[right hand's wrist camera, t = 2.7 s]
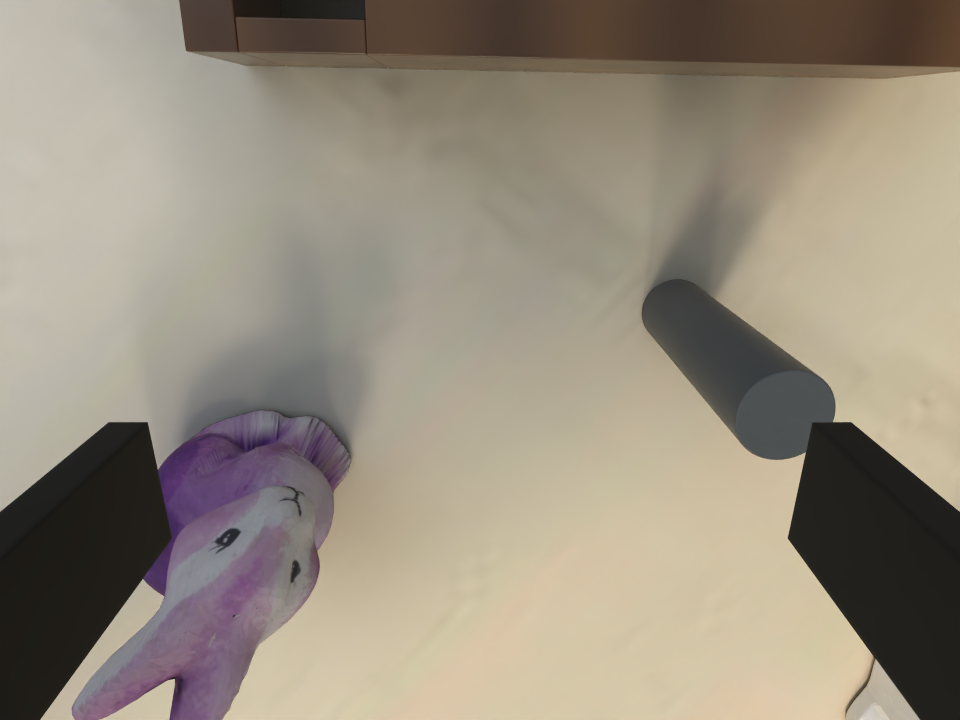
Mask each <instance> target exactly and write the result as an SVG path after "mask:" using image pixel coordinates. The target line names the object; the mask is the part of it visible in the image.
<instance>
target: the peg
mask: <svg viewBox="0 0 960 720" xmlns="http://www.w3.org/2000/svg"><path fill="white" fill-rule="evenodd" d="M642 319H643V323H644V326H645V328H646V329H647V331H648V332H649V333H650V334H651V336H652V337H653V338H654V339H655V340H656V342H657V343H658V344H659V345H660V346H661V348H662V349H663V350H664V351H665V352H666V354H667V355H668V356H669V357H670V358H671V360H672V361H673V362H674V363H675V364H676V366H677V367H678V368H679V369H680V370H681V372H682V373H683V374H684V375H685V376H686V378H687V379H688V380H689V381H690V382H691V384H692V385H693V386H694V387H695V388H696V390H697V391H698V392H699V393H700V395H701V396H702V397H703V398H704V399H705V401H706V402H707V403H708V404H709V405H710V407H711V408H712V409H713V410H714V411H715V413H716V414H717V415H718V416H719V417H720V419H721V420H722V421H723V422H724V423H725V425H726V426H727V427H728V428H729V429H730V431H731V432H732V433H733V434H734V435H735V437H736V438H737V439H738V440H739V441H740V443H741V444H742V445H743V446H744V447H745V448H746V449H747V450H748V451H749V452H751V453H752V454H754V455H756V456H759V457H762V458H766V459H773V460H781V459H788V458H792V457H796V456H798V455H801V454H803V453H805V452H806V450H807V446H808V441H809V436H810V431H811V427H812V422H833V420H834V416H835V399H834V395H833V392H832V390H831V388H830V387H829V385H828V384H827V383H826V382H825V381H824V380H823V379H822V378H821V377H819V376H818V375H817V374H815V373H814V372H812V371H811V370H810V369H808V368H807V367H806V366H804V365H803V364H802V363H800V362H799V361H798V360H796V359H795V358H794V357H792V356H791V355H789V354H788V353H787V352H785V351H784V350H783V349H781V348H780V347H779V346H777V345H776V344H775V343H773V342H772V341H771V340H769V339H768V338H766V337H765V336H764V335H762V334H761V333H760V332H758V331H757V330H756V329H754V328H753V327H752V326H750V325H749V324H748V323H746V322H745V321H743V320H742V319H741V318H739V317H738V316H737V315H735V314H734V313H733V312H731V311H730V310H729V309H727V308H726V307H725V306H723V305H722V304H720V303H719V302H718V301H716V300H715V299H714V298H712V297H711V296H710V295H708V294H707V293H706V292H704V291H703V290H702V289H700V288H699V287H697V286H696V285H695V284H693V283H691V282H689V281H686V280H670V281H666V282H664V283H662V284H660V285H658V286H657V287H656V288H654V289H653V290H652V291H651V292H650V293H649V295H648V296H647V298H646V300H645V302H644V305H643V309H642Z"/></svg>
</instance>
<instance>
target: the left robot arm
mask: <svg viewBox="0 0 960 720" xmlns="http://www.w3.org/2000/svg"><path fill="white" fill-rule="evenodd" d="M846 720H920V719H919V718H918V716H917V715H916V714H915V712H914V711H913V710H912V708H911V707H910V705H909V704H908V703H907V701H906V700H905V699H904V697H903V696H902V694H901V693H900V692H899V690H898V689H897V688H896V686H895V685H894V683H893V682H892V681H891V679H890V678H889V677H888V675H887V674H886V672H885V671H884V670H883V668H882V667H881V666H880V664H879V663H878V661H877V660H876V659H875V662H874V666H873V669H872V673H871V677H870V679H869V682H868V684H867V686H866V687H865V688H864V690H863V691H862V692H861V693H860V694H859V696H858V697H857V698H856V699H855V700H854V702H853V703H852V705H851V706H850V707H849V709H848V711H847V713H846Z"/></svg>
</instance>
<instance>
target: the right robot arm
mask: <svg viewBox="0 0 960 720" xmlns="http://www.w3.org/2000/svg"><path fill="white" fill-rule="evenodd" d="M171 539H172V535H171V531H170V526H169V521H168V516H167V512H166V507H165V502H164V497H163V493H162V488H161V483H160V479H159V474H158V469H157V464H156V460H155V455H154V450H153V445H152V441H151V436H150V431H149V427H148V422H109V423H107V424H106V425H105V426H104V427H103V428H101V429H100V430H99V431H98V432H97V433H95V434H94V435H93V436H92V437H90V438H89V439H88V440H87V441H86V442H84V443H83V444H82V445H81V446H80V447H78V448H77V449H76V450H75V451H74V452H72V453H71V454H70V455H69V456H67V457H66V458H65V459H64V460H63V461H61V462H60V463H59V464H58V465H57V466H55V467H54V468H53V469H52V470H51V471H49V472H48V473H47V474H46V475H44V476H43V477H42V478H41V479H40V480H38V481H37V482H36V483H35V484H34V485H32V486H31V487H30V488H29V489H28V490H26V491H25V492H24V493H23V494H22V495H20V496H19V497H18V498H17V499H15V500H14V501H13V502H12V503H11V504H9V505H8V506H7V507H6V508H5V509H3V510H2V511H1V512H0V720H40V719H41V718H42V716H43V715H44V714H45V712H46V711H47V710H48V708H49V707H50V705H51V704H52V703H53V701H54V700H55V699H56V697H57V696H58V694H59V693H60V692H61V690H62V689H63V688H64V686H65V685H66V683H67V682H68V681H69V679H70V678H71V677H72V675H73V674H74V672H75V671H76V670H77V668H78V667H79V666H80V664H81V663H82V661H83V660H84V659H85V657H86V656H87V655H88V653H89V652H90V650H91V649H92V648H93V646H94V645H95V644H96V642H97V641H98V640H99V638H100V637H101V635H102V634H103V633H104V631H105V630H106V629H107V627H108V626H109V624H110V623H111V622H112V620H113V619H114V618H115V616H116V615H117V613H118V612H119V611H120V609H121V608H122V607H123V605H124V604H125V602H126V601H127V600H128V598H129V597H130V596H131V594H132V593H133V591H134V590H135V589H136V587H137V586H138V585H139V583H140V582H141V580H142V579H143V578H144V576H145V575H146V574H147V572H148V571H149V569H150V568H151V567H152V565H153V564H154V563H155V561H156V560H157V559H158V557H159V556H160V554H161V553H162V552H163V550H164V549H165V548H166V546H167V545H168V543H169V542H170V541H171ZM788 539H789V541H790V542H791V543H792V545H793V546H794V548H795V549H796V550H797V552H798V553H799V554H800V556H801V557H802V559H803V560H804V561H805V563H806V564H807V565H808V567H809V568H810V569H811V571H812V572H813V574H814V575H815V576H816V578H817V579H818V580H819V582H820V583H821V585H822V586H823V587H824V589H825V590H826V591H827V593H828V594H829V596H830V597H831V598H832V600H833V601H834V602H835V604H836V605H837V607H838V608H839V609H840V611H841V612H842V613H843V615H844V616H845V618H846V619H847V620H848V622H849V623H850V624H851V626H852V627H853V629H854V630H855V631H856V633H857V634H858V635H859V637H860V638H861V640H862V641H863V642H864V644H865V645H866V646H867V648H868V649H869V650H870V652H871V653H872V655H873V656H874V657H875V659H876V660H877V661H878V663H879V664H880V666H881V667H882V668H883V670H884V671H885V672H886V674H887V675H888V677H889V678H890V679H891V681H892V682H893V683H894V685H895V686H896V688H897V689H898V690H899V692H900V693H901V694H902V696H903V697H904V699H905V700H906V701H907V703H908V704H909V705H910V707H911V708H912V710H913V711H914V712H915V714H916V715H917V716H918V718H919V719H920V720H960V512H959V511H958V510H957V509H955V508H954V507H953V506H952V505H951V504H949V503H948V502H947V501H946V500H945V499H943V498H942V497H941V496H940V495H938V494H937V493H936V492H935V491H934V490H932V489H931V488H930V487H929V486H928V485H926V484H925V483H924V482H923V481H922V480H920V479H919V478H918V477H917V476H916V475H914V474H913V473H912V472H911V471H909V470H908V469H907V468H906V467H905V466H903V465H902V464H901V463H900V462H899V461H897V460H896V459H895V458H894V457H893V456H891V455H890V454H889V453H888V452H886V451H885V450H884V449H883V448H882V447H880V446H879V445H878V444H877V443H876V442H874V441H873V440H872V439H871V438H870V437H868V436H867V435H866V434H865V433H863V432H862V431H861V430H860V429H859V428H857V427H856V426H855V425H854V424H853V423H851V422H812V427H811V431H810V436H809V441H808V446H807V450H806V455H805V460H804V464H803V469H802V474H801V479H800V483H799V488H798V493H797V497H796V502H795V507H794V512H793V516H792V521H791V526H790V531H789V535H788Z"/></svg>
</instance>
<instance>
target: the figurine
mask: <svg viewBox="0 0 960 720" xmlns="http://www.w3.org/2000/svg"><path fill="white" fill-rule="evenodd" d="M350 462H351V459H350V457H349V453H348V452H347V449H345V448H344V446H343V445H341V442H340V441H338V438H337V437H335V434H333V433H332V430H330V428H329V427H328V426H327V425H325V423H324V422H322V421H320V420H319V419H318V418H315V417H311V416H303V417H294V418H288V417H285V416H282V415H281V414H280V413H278V412H275V411H268V410H260V411H253V412H249V413H246V414H240V415H238V416H235V417H231V418H227V419H224V420H222V421H221V422H217V423H215V424H212V425H210V426H208V427H206V428H204V429H203V430H202V431H201V432H199V433H198V434H197V435H195V436H194V437H192V438H191V439H190V440H188V441H187V442H185V443H184V444H182V445H181V446H180V447H179V448H177V449H176V450H175V451H174V452H173V453H172V454H171V455H170V456H169V457H168V458H167V459H166V460H165V461H164V463H163V464H162V465H161V466H160V468H159V469H158V474H159V479H160V483H161V488H162V493H163V497H164V502H165V507H166V512H167V516H168V521H169V526H170V531H171V535H172V539H171V541H170V542H169V543H168V545H167V546H166V548H165V549H164V550H163V552H162V553H161V554H160V556H159V557H158V559H157V560H156V561H155V563H154V564H153V565H152V567H151V568H150V569H149V571H148V572H147V574H146V575H145V576H144V578H143V579H144V580H145V581H146V582H147V584H148V585H149V586H151V587H152V588H153V589H154V590H156V591H157V592H159V593H160V594H162V595H163V596H164V600H163V603H162V605H161V607H160V608H159V610H158V611H157V612H156V614H155V615H154V616H153V617H152V618H151V619H150V620H149V621H148V623H147V624H146V625H145V626H144V627H143V628H142V629H141V630H139V631H138V632H137V633H136V634H135V635H134V636H133V637H132V638H131V639H129V640H128V641H127V642H126V643H125V644H124V645H123V646H122V647H121V648H119V649H118V650H117V651H116V652H115V653H114V654H113V655H112V656H111V657H110V658H109V659H108V660H107V661H106V662H105V663H104V664H103V665H102V666H101V667H100V669H99V670H98V671H97V672H96V673H95V674H94V675H93V676H92V677H91V678H90V680H89V681H88V683H87V684H86V685H85V687H84V688H83V689H82V691H81V692H80V694H79V695H78V697H77V698H76V700H75V702H74V704H73V706H72V715H73V717H74V718H75V719H76V720H99V719H102V718H105V717H107V716H109V715H111V714H113V713H115V712H117V711H118V710H120V709H122V708H123V707H125V706H126V705H128V704H130V703H131V702H133V701H135V700H137V699H138V698H140V697H141V696H142V695H144V694H145V693H147V692H149V691H150V690H152V689H154V688H155V687H157V686H159V685H160V684H162V683H164V682H165V681H167V680H171V679H175V688H174V695H173V701H172V707H171V713H170V720H222V719H223V717H224V715H225V714H226V713H227V712H228V711H229V710H230V707H231V704H232V701H233V699H234V697H235V696H236V695H237V694H238V692H239V689H240V685H241V682H242V680H243V679H244V677H245V675H246V674H247V671H248V669H249V666H250V663H251V660H252V657H253V655H254V653H255V650H256V649H257V647H258V646H259V644H260V643H262V642H263V641H264V640H265V639H267V638H268V637H269V636H271V635H272V634H273V633H274V632H276V631H277V630H278V629H279V628H280V627H282V626H283V625H284V624H285V623H286V622H288V621H289V620H290V619H291V617H292V616H293V615H294V614H295V613H296V612H297V611H298V610H299V609H300V608H301V607H302V605H303V604H304V603H305V601H306V600H307V599H308V597H309V596H310V594H311V592H312V590H313V588H314V586H315V584H316V582H317V578H318V574H319V568H320V565H319V557H318V553H317V550H318V549H319V548H320V546H321V545H322V543H323V542H324V540H325V538H326V537H327V535H328V532H329V530H330V527H331V524H332V518H333V512H334V497H333V492H334V489H335V488H336V487H337V486H338V485H339V483H340V482H341V481H342V480H343V479H344V478H345V476H346V474H347V472H348V470H349V467H350Z"/></svg>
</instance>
